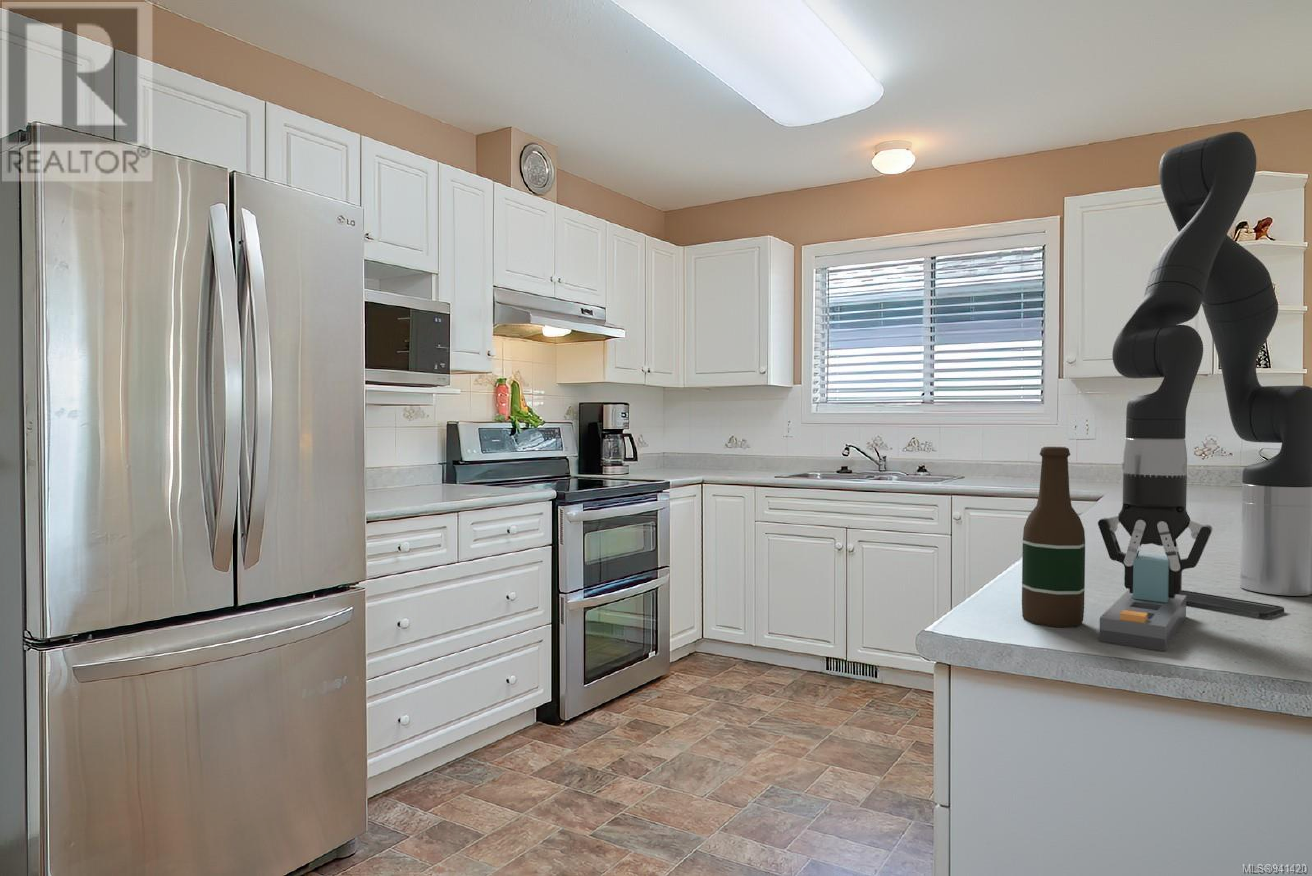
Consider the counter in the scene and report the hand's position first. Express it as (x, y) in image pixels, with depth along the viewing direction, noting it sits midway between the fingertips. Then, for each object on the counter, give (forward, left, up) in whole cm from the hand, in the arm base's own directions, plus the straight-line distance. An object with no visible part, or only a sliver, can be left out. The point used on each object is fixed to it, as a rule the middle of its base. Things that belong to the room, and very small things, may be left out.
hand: (1152, 594), depth 112 cm
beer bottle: (+14, +1, -4) cm, 15 cm away
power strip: (+4, +5, -4) cm, 7 cm away
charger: (0, 0, -2) cm, 2 cm away
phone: (-15, -8, -4) cm, 18 cm away
